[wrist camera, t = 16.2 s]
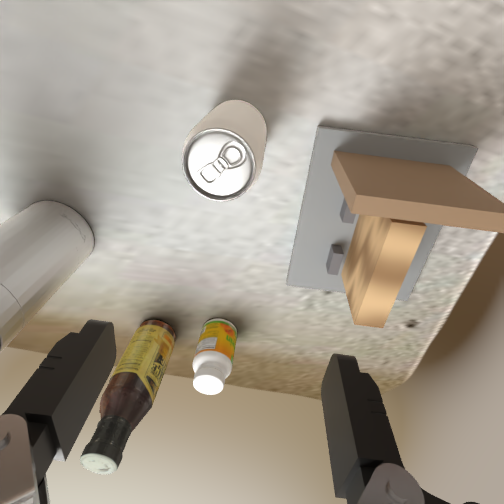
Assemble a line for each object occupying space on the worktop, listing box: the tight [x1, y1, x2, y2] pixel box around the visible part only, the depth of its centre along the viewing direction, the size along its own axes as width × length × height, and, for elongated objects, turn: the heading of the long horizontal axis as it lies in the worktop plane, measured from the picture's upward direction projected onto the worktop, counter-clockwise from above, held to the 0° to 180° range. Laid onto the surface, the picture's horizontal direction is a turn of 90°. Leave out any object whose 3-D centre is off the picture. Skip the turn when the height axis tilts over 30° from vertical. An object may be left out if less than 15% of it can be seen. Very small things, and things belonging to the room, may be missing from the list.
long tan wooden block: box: [341, 214, 427, 328], centre depth 35 cm, size 12×4×9 cm, turn 174°
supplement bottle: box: [193, 318, 237, 395], centre depth 47 cm, size 5×5×10 cm
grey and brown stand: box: [287, 126, 504, 301], centre depth 34 cm, size 20×16×13 cm
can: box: [182, 100, 267, 201], centre depth 30 cm, size 6×6×12 cm
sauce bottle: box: [80, 320, 176, 474], centre depth 43 cm, size 7×6×20 cm
